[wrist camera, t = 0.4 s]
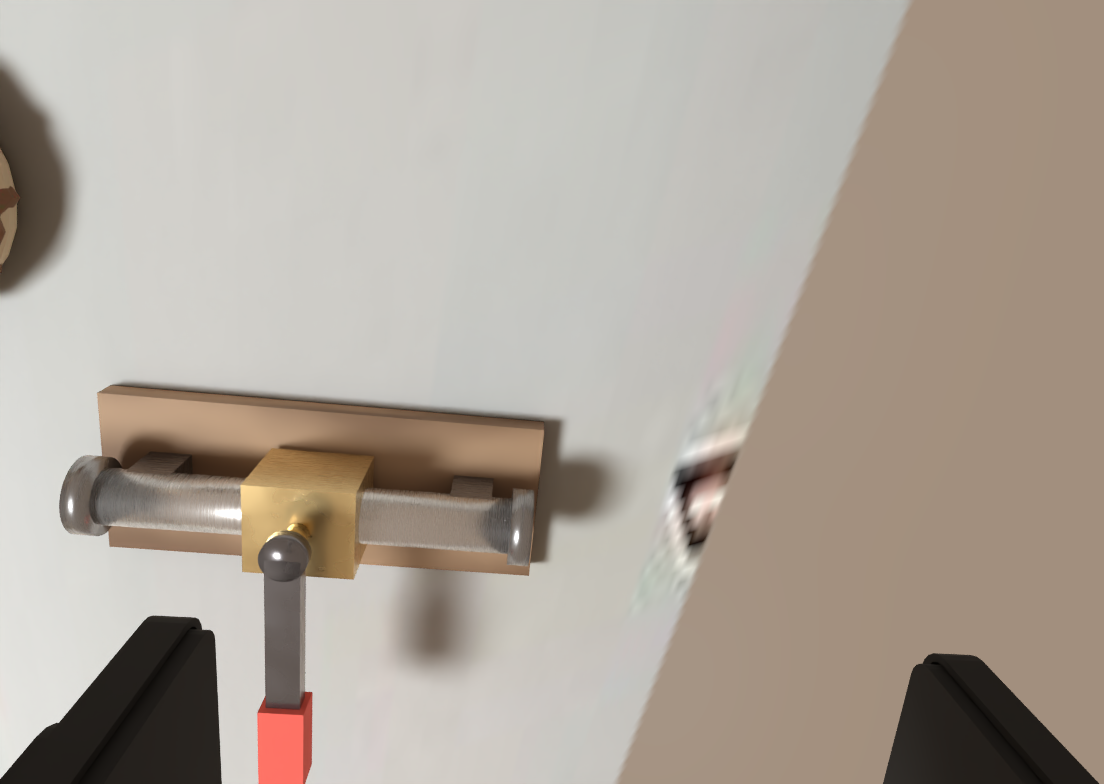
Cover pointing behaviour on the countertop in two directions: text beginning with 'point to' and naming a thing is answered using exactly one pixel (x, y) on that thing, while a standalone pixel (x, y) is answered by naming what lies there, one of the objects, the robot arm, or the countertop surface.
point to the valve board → (321, 432)
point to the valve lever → (285, 663)
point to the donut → (7, 209)
